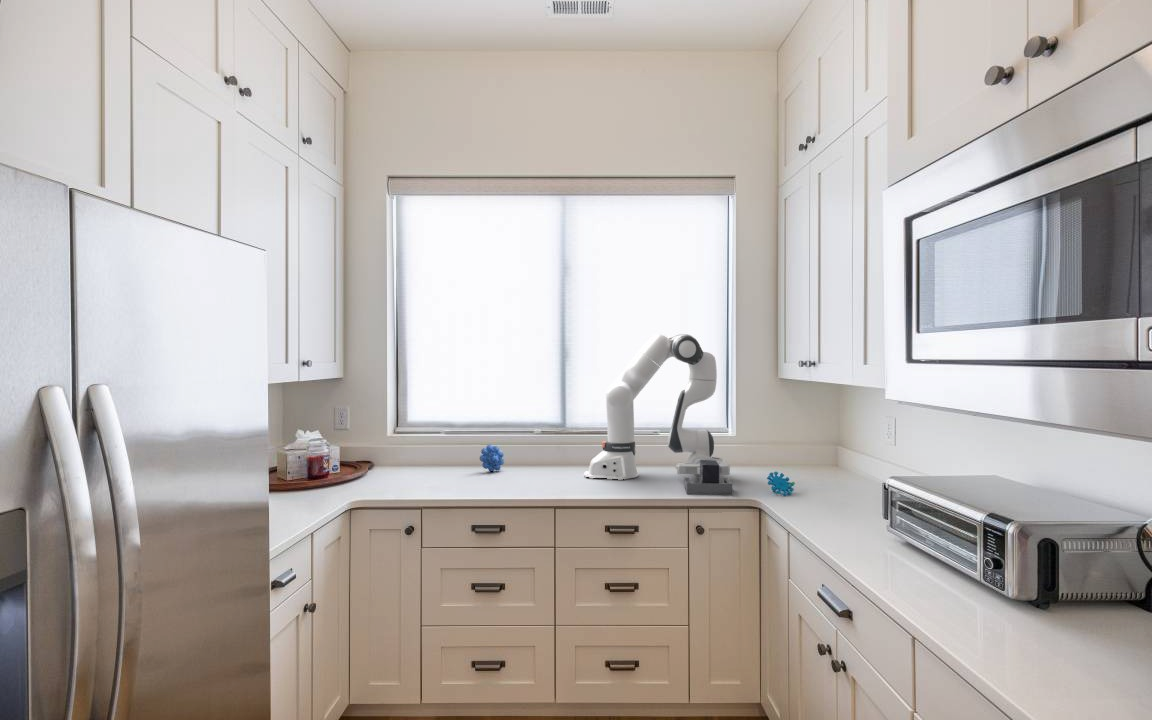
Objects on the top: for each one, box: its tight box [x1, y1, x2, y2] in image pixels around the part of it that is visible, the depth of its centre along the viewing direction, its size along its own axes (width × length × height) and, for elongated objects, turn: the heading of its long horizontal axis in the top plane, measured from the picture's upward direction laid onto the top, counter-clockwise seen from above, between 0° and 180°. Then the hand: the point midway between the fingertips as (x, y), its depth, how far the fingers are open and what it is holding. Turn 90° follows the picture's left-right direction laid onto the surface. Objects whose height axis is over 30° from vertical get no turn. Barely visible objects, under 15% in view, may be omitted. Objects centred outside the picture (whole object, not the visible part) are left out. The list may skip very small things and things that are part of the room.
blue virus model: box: [766, 471, 796, 497], centre depth 214 cm, size 11×6×10 cm
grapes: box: [479, 444, 505, 472], centre depth 256 cm, size 12×7×12 cm, turn 126°
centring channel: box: [683, 477, 733, 496], centre depth 217 cm, size 16×10×4 cm, turn 85°
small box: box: [699, 460, 720, 483], centre depth 219 cm, size 11×6×10 cm, turn 174°
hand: (705, 472), depth 224 cm, fingers closed, pressing on small box
